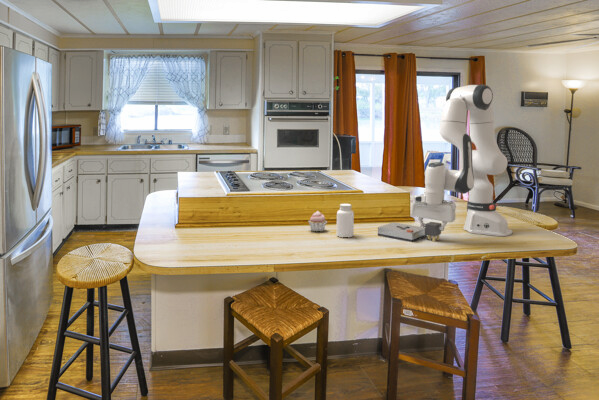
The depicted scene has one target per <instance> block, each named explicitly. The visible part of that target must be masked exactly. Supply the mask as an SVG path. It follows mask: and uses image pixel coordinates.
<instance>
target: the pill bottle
mask: <svg viewBox="0 0 599 400" xmlns="http://www.w3.org/2000/svg"><path fill="white" fill-rule="evenodd" d="M354 217H355V213H354V210H352V204H351V203H340V204H339V210H337V212H336V236H337V237H338V236H339V237H338V238H343V237H348V238H351V237H354V231H355V230H354V226H355V225H354V224H355V223H354V222H355V219H354Z"/></svg>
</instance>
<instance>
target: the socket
mask: <svg viewBox="0 0 599 400" xmlns="http://www.w3.org/2000/svg"><path fill="white" fill-rule="evenodd" d="M377 236H378V237H383V238H389V239H395V240H400V241H405V242H410V243H413V242H416V241H418V240H421V239H423V238H426V237H428V235H425V227H424V228H423V227H420V226H419V225H418V226H417V225H412V224H406V223H400V222H390V223H386V224H384V225H380V226H378V227H377Z"/></svg>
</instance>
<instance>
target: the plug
mask: <svg viewBox="0 0 599 400" xmlns="http://www.w3.org/2000/svg"><path fill="white" fill-rule="evenodd" d="M442 225H443V223H442V222H435V221H430V222H426V223H425V227H424V228H425V235H427V239H428V240H432V242H436V241H439V240H440V236H441V234H442V231H440V230H439V229H440V227H441V226H442Z"/></svg>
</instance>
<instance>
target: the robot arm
mask: <svg viewBox="0 0 599 400" xmlns="http://www.w3.org/2000/svg"><path fill="white" fill-rule="evenodd" d="M493 96H494V94H493V90H492V89H491V87H490V86H489V85H486V84H468V85H462V86H455V87H453V88H451V89H449V90H448V92H447V94H446V98H445V102H444V105H443V109H442V111H441V112H442V113H441V115H440V117H441V118H440V124H439V134H440V135H441V137H442V139H444V140H445V141H446V142H447V143H449V144H451V145H452V146H453V145H454V146H455V147H456V148H457V149H458V151H459V157H460V158H459V164H460V165H459V166H460V168H459V169H460V170H459V169H458V170H456V169H450V168H447V167H446V165H445V163H443V162H437V161H436V162H430V163H428V165H426V170H425V176H424V184H425V185H424V191H423V192H424V193H421V194H420V195H416V196H413V202H412V204H411V209H410V211H411V214H410V215H411V216H412V217H414V218H415V217H416V218H418V219H417V220H418V221H419V224H420V225H419V227H423V228H425V224H426V223H425V222H424V219H425V220H432V221H433V220H434V221H438V222H439V221H440V222H441V223H442V225H441V227H440V229H439V230H440V231H441V232H444V231H445V227H446V226H447V224H448V223H453V222H455V221H456V209H457V205H456V203H455V202H453V201H452V200H446V199H445V191H448V192H449V191H450V192H455V193H459V194H467V193H468V200H467V205H466V217H465V222H464V225H463V228H462V229H463V230H464V231H467V232H468V233H470V234H477V235H478V234H479V235H486V236H496V237H508V236H510V235H512V234H513V230H512V229H509V226H508V225H509V224H508V220H507V219H506V218H505V217H504V216H503V215H502V214H501V213H499V212H498V211H497V207H498V204H497V203H496V204H495V203H494V202H493V199H494V198H493V197H494V185H493V183H492V182H490V180H489V178H488V175H490V176H495V175H500V174H503V173H504V172H505V171H506V170H507V169H508V168H507V167H508V158H507V157H506V155H505V154H504V153H503V152H502V151H501V150H500V148H499V146H498V143H497V140H496V133H495V131H496V130H495V116H494V109H493V104H492V101H493V100H494V99H493V98H494V97H493ZM468 111H469V113H468V114H469V115H468V118H469V119H468V120H469V121H468V124H469V125H468V126H469V127H468V128H469V134H468V132H467V128H466V126H467V112H468ZM473 144H474V146H475V147H476V149H473V146H472V145H473Z"/></svg>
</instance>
